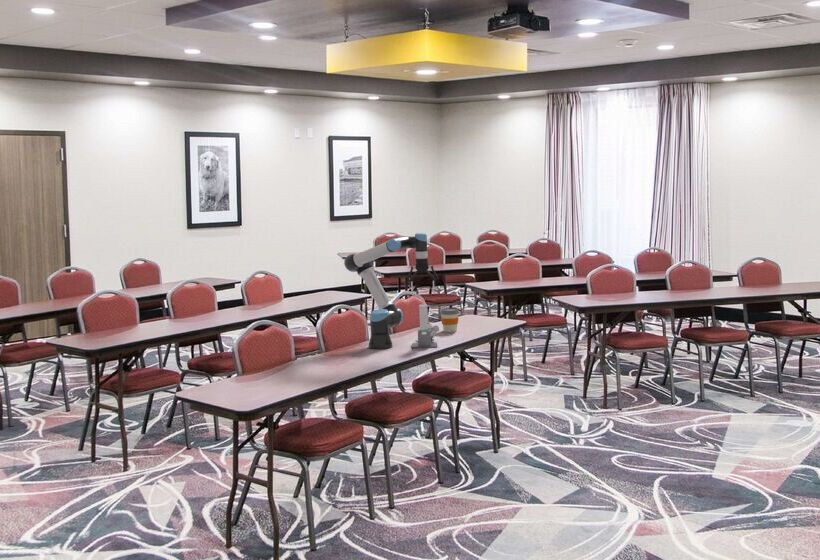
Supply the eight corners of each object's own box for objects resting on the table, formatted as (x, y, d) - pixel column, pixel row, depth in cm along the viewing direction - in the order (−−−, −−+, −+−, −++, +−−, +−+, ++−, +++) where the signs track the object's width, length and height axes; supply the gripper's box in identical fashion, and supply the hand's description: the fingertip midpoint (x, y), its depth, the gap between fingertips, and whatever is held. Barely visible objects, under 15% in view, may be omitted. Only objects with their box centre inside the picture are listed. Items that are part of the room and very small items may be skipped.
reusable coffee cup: (438, 330, 605) (438, 308, 603) (455, 328, 608) (455, 307, 606) (444, 333, 593) (443, 311, 591) (461, 331, 596) (461, 310, 594)
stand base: (411, 348, 544) (411, 332, 543) (412, 344, 556) (411, 329, 555) (437, 347, 544) (436, 331, 543) (437, 343, 556) (436, 328, 555)
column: (420, 334, 547) (419, 305, 545) (420, 332, 552) (419, 304, 550) (428, 333, 547) (427, 305, 545) (428, 332, 552) (427, 304, 550)
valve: (428, 337, 579) (444, 332, 568) (415, 353, 567) (431, 348, 556) (420, 325, 577) (435, 319, 566) (406, 340, 564) (422, 335, 554)
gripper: (401, 259, 540) (402, 293, 543) (441, 257, 540) (442, 291, 542) (401, 258, 548) (403, 291, 550) (441, 256, 547) (442, 290, 550)
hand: (422, 291), depth 546 cm, fingers open, 13 cm apart
